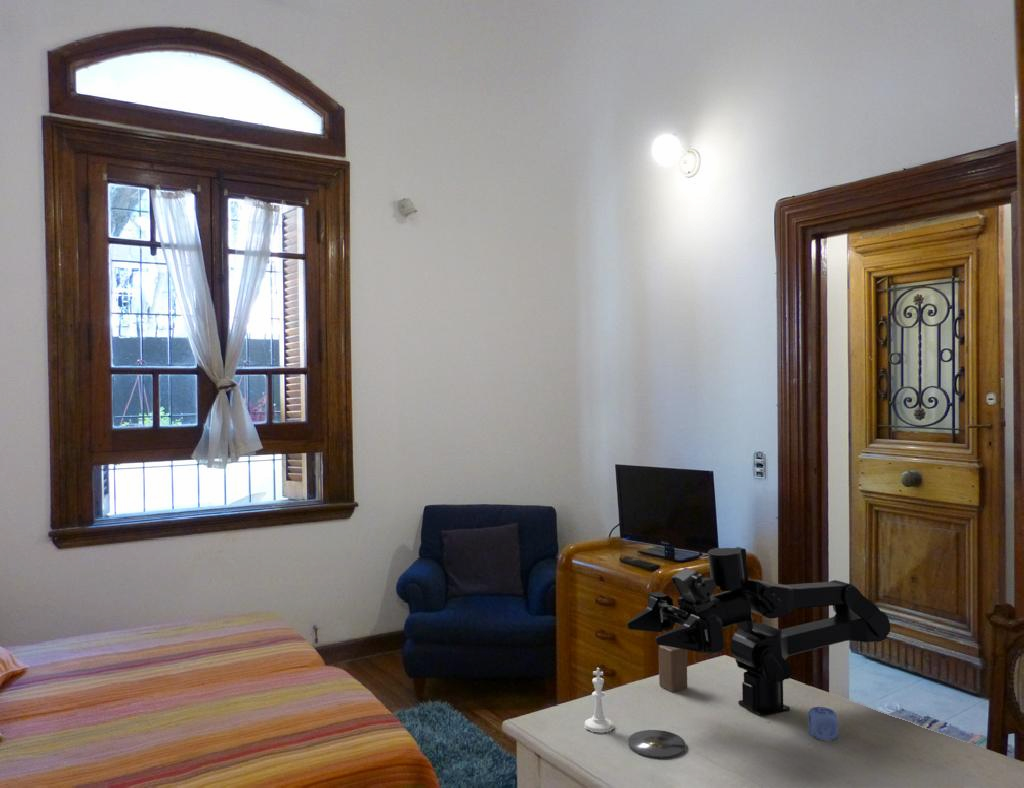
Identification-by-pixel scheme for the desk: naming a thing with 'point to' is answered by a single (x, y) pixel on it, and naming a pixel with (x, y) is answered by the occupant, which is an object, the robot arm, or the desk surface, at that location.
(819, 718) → the decorative dice
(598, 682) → the chess piece
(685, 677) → the wooden block
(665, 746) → the carrier plate
